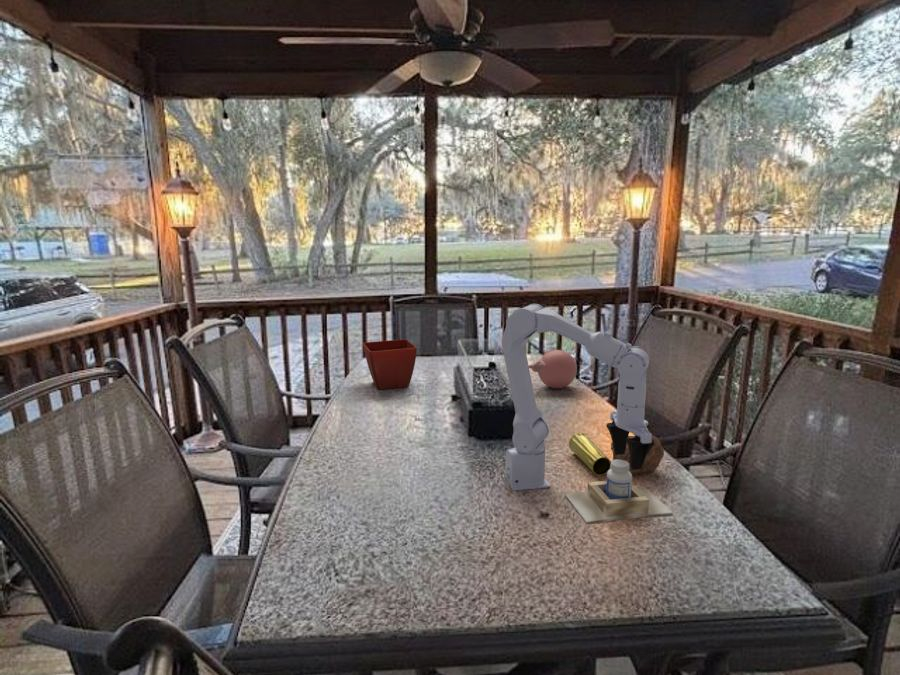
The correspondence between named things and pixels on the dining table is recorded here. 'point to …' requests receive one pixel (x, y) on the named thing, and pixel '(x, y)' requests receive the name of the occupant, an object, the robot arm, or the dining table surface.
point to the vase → (589, 454)
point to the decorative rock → (650, 460)
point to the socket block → (615, 504)
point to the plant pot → (390, 362)
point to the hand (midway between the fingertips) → (627, 461)
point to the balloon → (556, 369)
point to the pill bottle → (619, 480)
